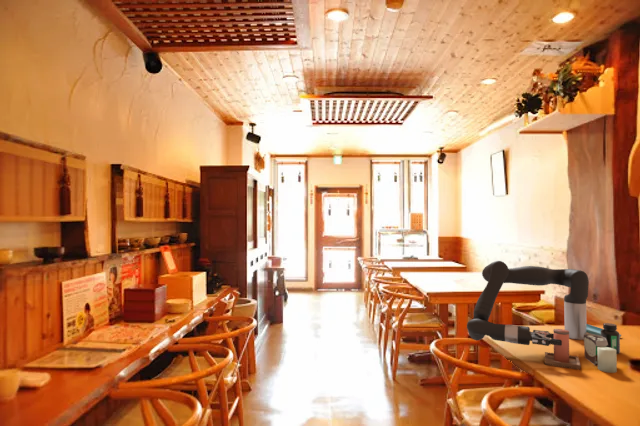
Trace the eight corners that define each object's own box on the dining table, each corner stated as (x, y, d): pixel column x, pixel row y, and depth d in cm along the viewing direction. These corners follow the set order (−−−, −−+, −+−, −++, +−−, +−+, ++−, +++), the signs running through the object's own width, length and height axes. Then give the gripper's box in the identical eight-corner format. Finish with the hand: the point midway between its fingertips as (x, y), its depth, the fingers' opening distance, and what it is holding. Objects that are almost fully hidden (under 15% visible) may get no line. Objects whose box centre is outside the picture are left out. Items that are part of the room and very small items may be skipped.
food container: (614, 367, 159) (614, 342, 160) (596, 366, 161) (596, 341, 161) (599, 357, 172) (599, 333, 172) (583, 356, 173) (583, 332, 173)
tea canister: (553, 357, 169) (553, 328, 169) (569, 359, 167) (568, 330, 167) (553, 361, 164) (553, 331, 165) (569, 363, 162) (569, 333, 162)
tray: (544, 355, 174) (544, 352, 174) (578, 360, 168) (578, 356, 168) (544, 364, 163) (544, 360, 163) (580, 369, 157) (580, 365, 157)
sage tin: (596, 366, 161) (596, 345, 162) (615, 368, 158) (615, 348, 159) (598, 371, 156) (598, 349, 156) (617, 373, 153) (617, 352, 153)
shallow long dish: (622, 339, 200) (622, 334, 200) (606, 340, 198) (606, 334, 198) (578, 325, 226) (578, 321, 226) (564, 326, 224) (564, 321, 224)
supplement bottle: (618, 355, 174) (618, 327, 174) (599, 352, 179) (599, 324, 179) (621, 351, 179) (620, 324, 179) (602, 348, 184) (601, 321, 184)
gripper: (516, 329, 167) (562, 334, 159) (518, 322, 180) (560, 326, 172) (516, 347, 167) (562, 354, 159) (518, 339, 180) (561, 344, 172)
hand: (561, 340), depth 166 cm, fingers open, 8 cm apart
